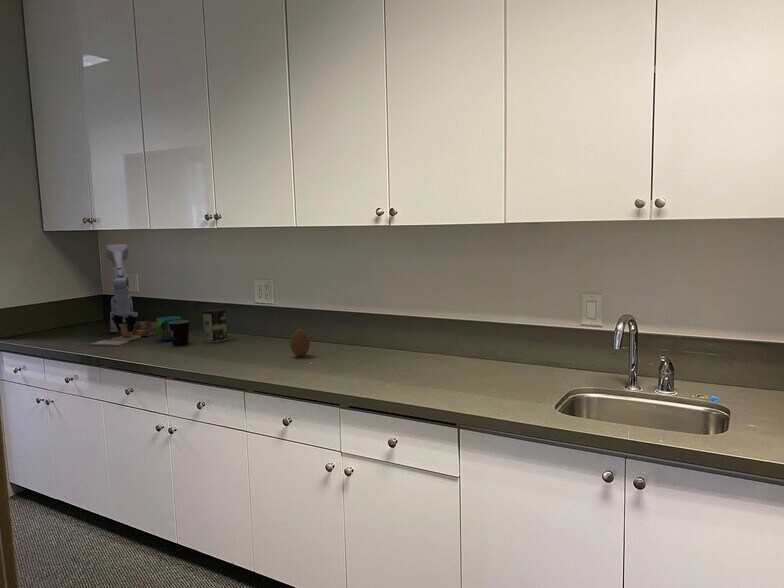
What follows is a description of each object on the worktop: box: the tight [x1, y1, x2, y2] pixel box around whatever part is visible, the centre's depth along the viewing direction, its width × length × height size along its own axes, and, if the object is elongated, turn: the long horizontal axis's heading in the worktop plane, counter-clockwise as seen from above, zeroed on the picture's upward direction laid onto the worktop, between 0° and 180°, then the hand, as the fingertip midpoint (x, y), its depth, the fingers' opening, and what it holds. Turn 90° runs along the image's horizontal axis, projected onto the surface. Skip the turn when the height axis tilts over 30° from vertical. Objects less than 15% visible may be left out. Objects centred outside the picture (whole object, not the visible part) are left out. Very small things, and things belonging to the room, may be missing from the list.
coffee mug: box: [169, 319, 190, 346], centre depth 271 cm, size 12×9×10 cm
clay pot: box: [119, 322, 133, 337], centre depth 288 cm, size 6×6×6 cm
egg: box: [289, 328, 311, 357], centre depth 242 cm, size 8×8×11 cm
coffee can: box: [201, 307, 228, 343], centre depth 279 cm, size 10×10×14 cm
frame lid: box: [88, 339, 130, 347], centre depth 279 cm, size 14×9×1 cm, turn 75°
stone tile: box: [110, 335, 142, 342], centre depth 288 cm, size 9×9×1 cm
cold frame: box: [120, 320, 157, 338], centre depth 300 cm, size 16×11×5 cm
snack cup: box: [155, 315, 182, 342], centre depth 284 cm, size 16×10×10 cm
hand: (125, 331), depth 288 cm, fingers closed on clay pot, 5 cm apart
